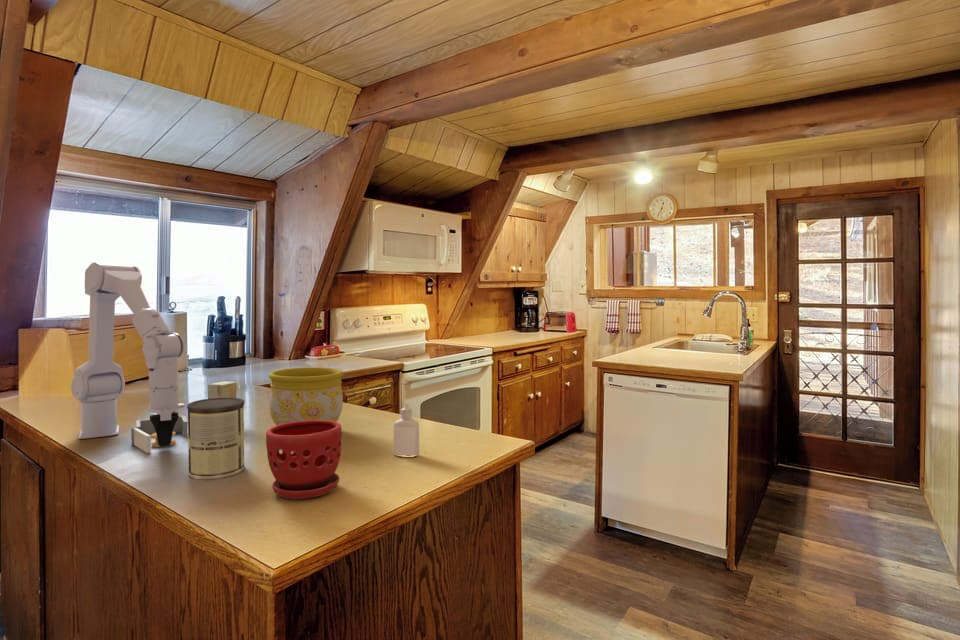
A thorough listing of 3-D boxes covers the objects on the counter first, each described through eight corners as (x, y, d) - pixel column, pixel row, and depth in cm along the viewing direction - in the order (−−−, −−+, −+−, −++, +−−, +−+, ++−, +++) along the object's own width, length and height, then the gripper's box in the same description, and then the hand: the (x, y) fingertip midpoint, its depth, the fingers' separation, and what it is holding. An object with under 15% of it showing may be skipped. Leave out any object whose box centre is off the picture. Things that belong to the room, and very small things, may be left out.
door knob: (150, 443, 124) (150, 433, 124) (174, 440, 127) (174, 430, 126) (151, 448, 120) (151, 437, 120) (176, 445, 122) (176, 434, 122)
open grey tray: (136, 436, 129) (136, 420, 129) (184, 430, 135) (184, 415, 135) (136, 443, 123) (136, 427, 123) (187, 437, 129) (187, 421, 128)
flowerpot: (283, 449, 120) (283, 379, 119) (259, 433, 133) (259, 370, 133) (354, 437, 131) (355, 373, 130) (326, 423, 145) (326, 365, 144)
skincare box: (221, 431, 135) (221, 385, 134) (206, 430, 136) (206, 384, 135) (237, 425, 141) (237, 381, 141) (223, 424, 142) (223, 380, 141)
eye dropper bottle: (407, 460, 113) (407, 406, 112) (390, 455, 116) (390, 402, 116) (421, 456, 116) (422, 403, 115) (405, 451, 120) (405, 399, 119)
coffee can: (179, 471, 104) (178, 402, 103) (230, 459, 112) (230, 395, 111) (201, 484, 97) (200, 410, 97) (254, 470, 105) (253, 401, 105)
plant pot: (348, 478, 101) (348, 417, 101) (331, 504, 88) (331, 435, 88) (281, 477, 101) (281, 417, 100) (254, 504, 88) (253, 435, 87)
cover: (136, 443, 123) (136, 427, 122) (152, 453, 116) (151, 435, 115) (130, 444, 122) (130, 428, 122) (146, 454, 115) (145, 436, 115)
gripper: (186, 390, 114) (187, 450, 114) (181, 380, 126) (182, 435, 126) (148, 393, 110) (149, 455, 110) (147, 383, 122) (147, 439, 122)
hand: (164, 445), depth 118 cm, fingers closed
